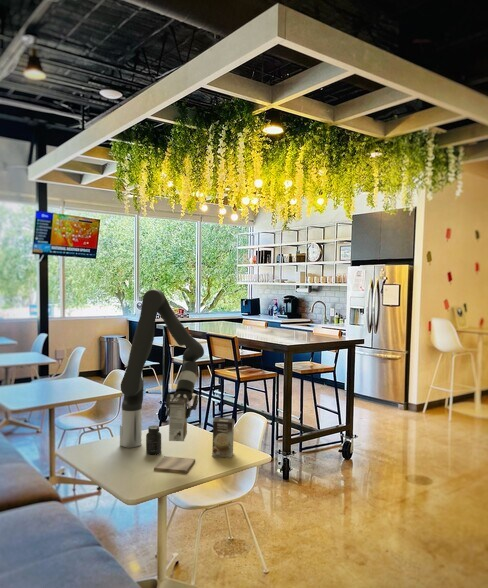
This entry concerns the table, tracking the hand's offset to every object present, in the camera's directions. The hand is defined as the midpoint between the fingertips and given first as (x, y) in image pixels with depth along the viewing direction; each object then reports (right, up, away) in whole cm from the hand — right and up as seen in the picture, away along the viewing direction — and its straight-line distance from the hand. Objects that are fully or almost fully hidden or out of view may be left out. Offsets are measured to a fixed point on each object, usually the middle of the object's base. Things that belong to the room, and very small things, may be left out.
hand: (178, 416), depth 202 cm
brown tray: (-1, -21, +1) cm, 21 cm away
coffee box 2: (+18, -21, +15) cm, 32 cm away
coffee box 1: (0, -9, 0) cm, 9 cm away
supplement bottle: (-13, -20, +15) cm, 29 cm away
